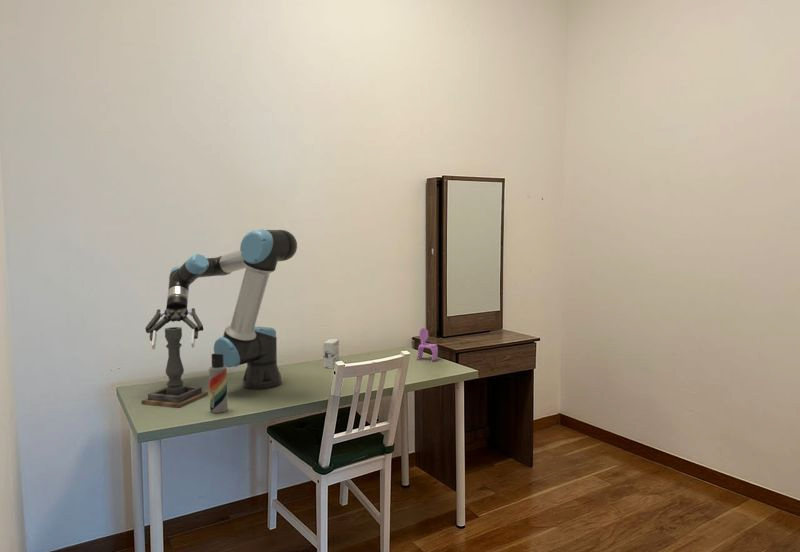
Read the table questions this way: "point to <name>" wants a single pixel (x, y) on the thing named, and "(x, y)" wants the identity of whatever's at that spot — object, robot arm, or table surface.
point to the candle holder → (174, 361)
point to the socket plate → (175, 397)
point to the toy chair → (426, 345)
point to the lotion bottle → (218, 384)
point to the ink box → (331, 352)
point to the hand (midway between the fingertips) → (173, 346)
